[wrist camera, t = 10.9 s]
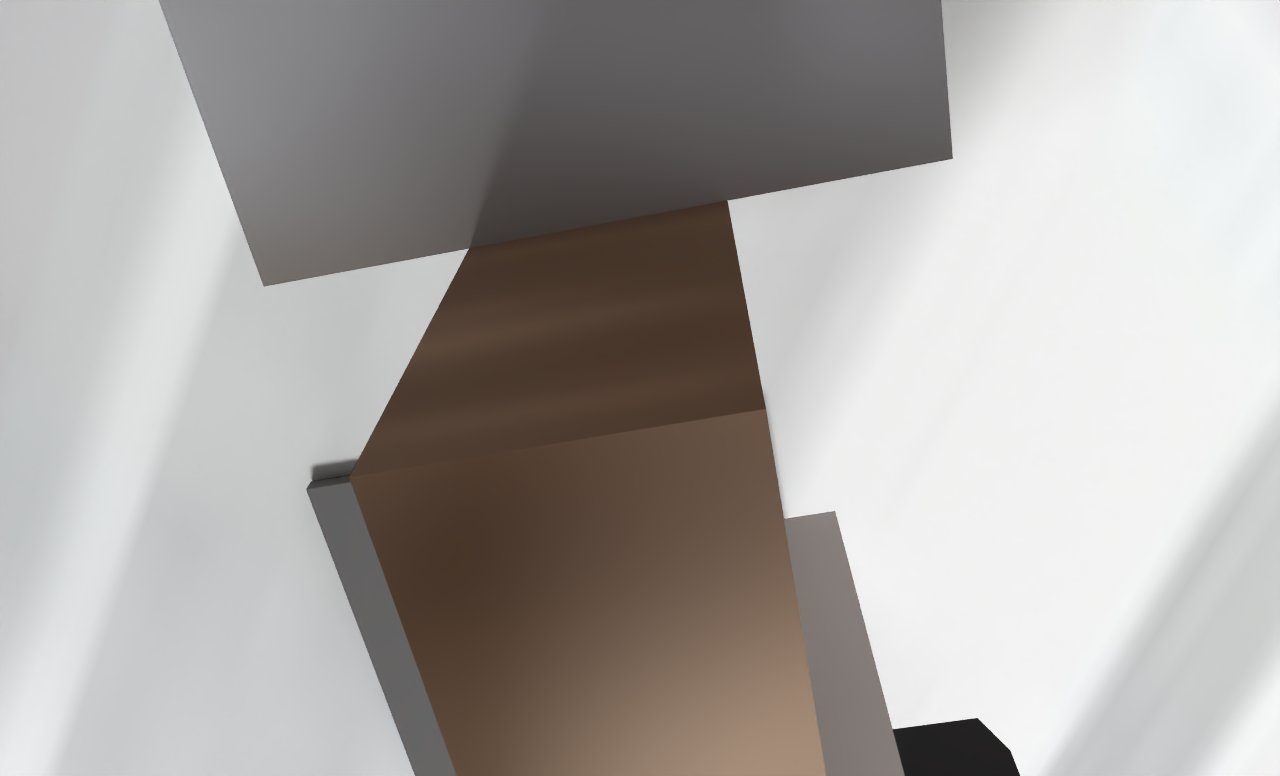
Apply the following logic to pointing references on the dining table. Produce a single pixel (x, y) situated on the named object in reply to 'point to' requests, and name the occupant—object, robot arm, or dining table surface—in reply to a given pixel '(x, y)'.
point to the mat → (380, 624)
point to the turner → (571, 333)
